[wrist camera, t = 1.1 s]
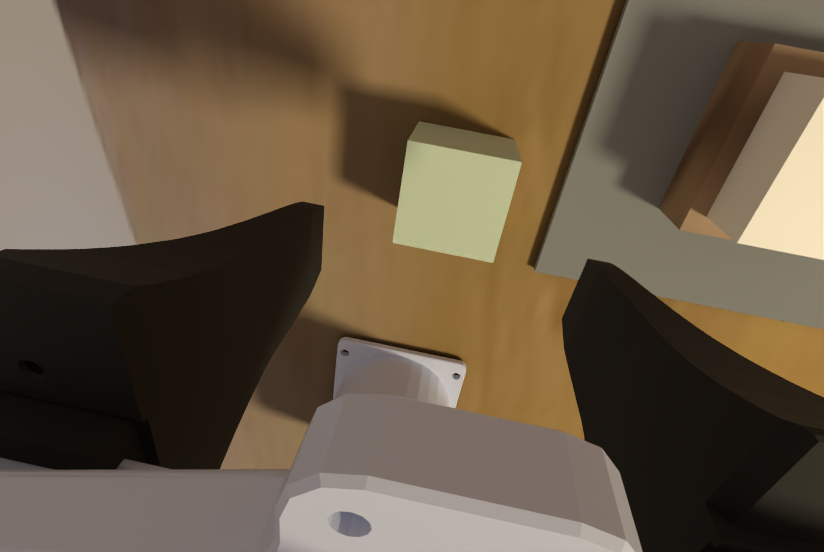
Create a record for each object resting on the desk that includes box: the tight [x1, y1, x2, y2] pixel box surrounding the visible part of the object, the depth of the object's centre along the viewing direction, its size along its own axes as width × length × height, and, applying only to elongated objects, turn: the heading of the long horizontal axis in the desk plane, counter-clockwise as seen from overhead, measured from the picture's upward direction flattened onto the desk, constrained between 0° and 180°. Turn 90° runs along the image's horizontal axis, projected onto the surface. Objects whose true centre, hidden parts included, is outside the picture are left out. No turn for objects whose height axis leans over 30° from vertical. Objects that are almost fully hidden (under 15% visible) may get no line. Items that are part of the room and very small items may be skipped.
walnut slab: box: [659, 41, 824, 240], centre depth 18 cm, size 7×7×2 cm
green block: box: [393, 121, 522, 263], centre depth 20 cm, size 4×4×4 cm
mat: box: [534, 0, 824, 329], centre depth 19 cm, size 16×16×1 cm
